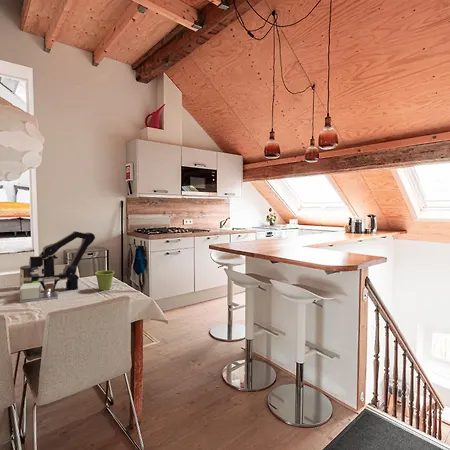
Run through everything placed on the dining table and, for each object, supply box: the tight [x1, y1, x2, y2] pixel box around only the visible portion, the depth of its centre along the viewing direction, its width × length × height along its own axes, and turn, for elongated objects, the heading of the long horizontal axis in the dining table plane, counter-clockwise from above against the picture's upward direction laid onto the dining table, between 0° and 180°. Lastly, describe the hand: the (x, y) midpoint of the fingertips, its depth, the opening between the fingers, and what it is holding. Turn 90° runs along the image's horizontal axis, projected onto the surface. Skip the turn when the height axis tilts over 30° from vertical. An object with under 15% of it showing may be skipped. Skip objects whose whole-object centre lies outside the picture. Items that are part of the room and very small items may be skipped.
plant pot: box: [95, 270, 115, 291], centre depth 200 cm, size 12×12×11 cm
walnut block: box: [44, 282, 55, 293], centre depth 192 cm, size 4×4×5 cm
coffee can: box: [19, 264, 40, 287], centre depth 201 cm, size 10×10×14 cm
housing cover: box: [19, 282, 42, 300], centre depth 178 cm, size 9×13×6 cm
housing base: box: [18, 289, 59, 304], centre depth 181 cm, size 19×13×4 cm
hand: (49, 290), depth 192 cm, fingers closed on walnut block, 4 cm apart
